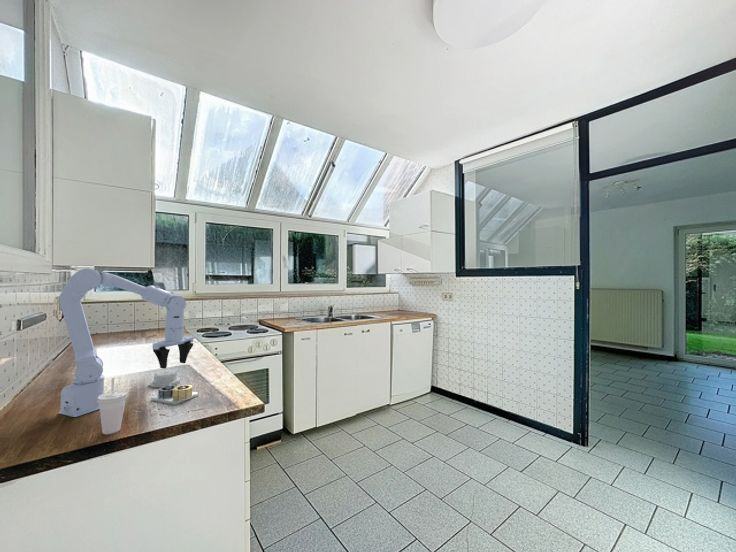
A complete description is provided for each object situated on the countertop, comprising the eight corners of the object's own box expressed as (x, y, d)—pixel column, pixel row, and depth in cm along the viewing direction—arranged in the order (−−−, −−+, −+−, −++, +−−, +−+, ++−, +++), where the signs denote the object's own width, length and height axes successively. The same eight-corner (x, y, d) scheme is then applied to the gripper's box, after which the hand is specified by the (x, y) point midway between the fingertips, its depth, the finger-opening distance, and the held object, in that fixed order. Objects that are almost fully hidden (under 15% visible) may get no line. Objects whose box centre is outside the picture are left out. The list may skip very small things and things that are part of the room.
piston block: (175, 405, 99) (175, 392, 99) (149, 400, 103) (150, 388, 103) (198, 395, 108) (198, 384, 108) (174, 391, 111) (174, 380, 112)
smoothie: (123, 423, 86) (125, 373, 87) (129, 430, 82) (131, 378, 83) (93, 431, 81) (95, 379, 82) (98, 439, 77) (100, 384, 78)
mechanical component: (167, 389, 114) (185, 380, 124) (167, 377, 114) (186, 369, 124) (143, 387, 115) (163, 379, 125) (143, 375, 115) (163, 368, 125)
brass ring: (181, 400, 101) (181, 391, 101) (169, 398, 103) (169, 389, 103) (195, 394, 106) (196, 386, 106) (183, 392, 108) (184, 383, 108)
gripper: (163, 331, 102) (162, 372, 102) (199, 326, 116) (198, 361, 116) (148, 330, 105) (147, 369, 104) (185, 324, 118) (184, 359, 118)
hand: (173, 365), depth 110 cm, fingers open, 7 cm apart
